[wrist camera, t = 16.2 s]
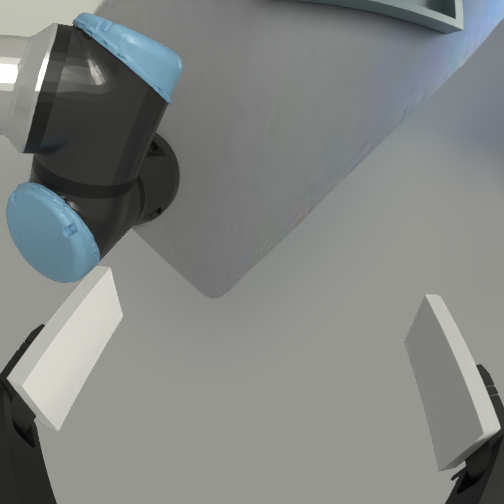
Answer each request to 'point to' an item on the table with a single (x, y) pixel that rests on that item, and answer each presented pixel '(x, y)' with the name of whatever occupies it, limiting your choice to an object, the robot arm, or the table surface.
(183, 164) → the table surface
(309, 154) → the table surface
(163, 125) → the table surface
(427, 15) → the bin
